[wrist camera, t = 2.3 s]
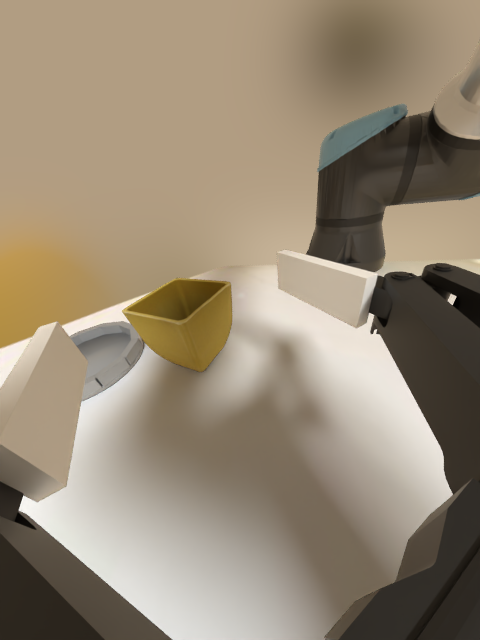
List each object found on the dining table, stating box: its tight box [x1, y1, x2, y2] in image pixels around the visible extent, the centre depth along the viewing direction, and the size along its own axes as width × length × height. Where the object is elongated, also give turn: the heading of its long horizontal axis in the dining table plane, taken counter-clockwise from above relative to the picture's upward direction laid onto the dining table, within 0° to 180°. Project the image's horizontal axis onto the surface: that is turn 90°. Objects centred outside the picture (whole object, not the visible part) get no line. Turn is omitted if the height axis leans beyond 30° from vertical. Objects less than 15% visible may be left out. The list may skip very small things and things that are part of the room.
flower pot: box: [122, 278, 232, 372], centre depth 25 cm, size 9×9×9 cm
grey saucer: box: [69, 321, 144, 401], centre depth 29 cm, size 14×14×2 cm
